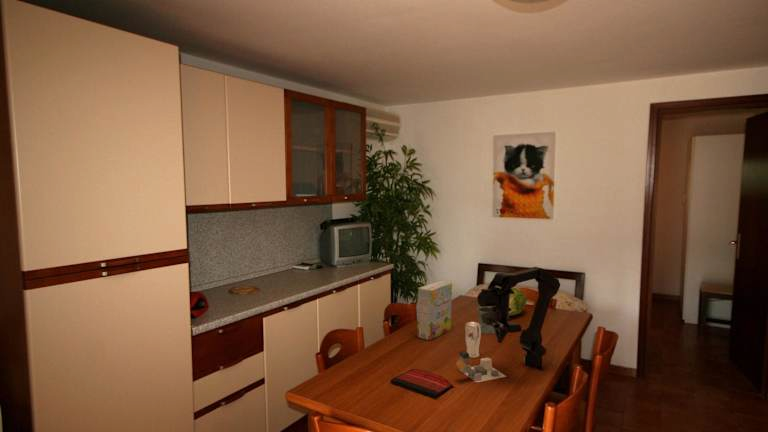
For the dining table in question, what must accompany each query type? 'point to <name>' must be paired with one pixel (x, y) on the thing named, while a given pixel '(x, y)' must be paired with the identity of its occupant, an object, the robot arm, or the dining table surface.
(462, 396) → the dining table surface
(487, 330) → the grey pot
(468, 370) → the orange lever
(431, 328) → the snack box
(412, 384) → the binder
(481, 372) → the panel
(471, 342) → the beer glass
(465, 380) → the dining table surface
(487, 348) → the dining table surface
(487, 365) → the slider
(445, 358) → the dining table surface
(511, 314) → the lettuce
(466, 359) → the black lever
